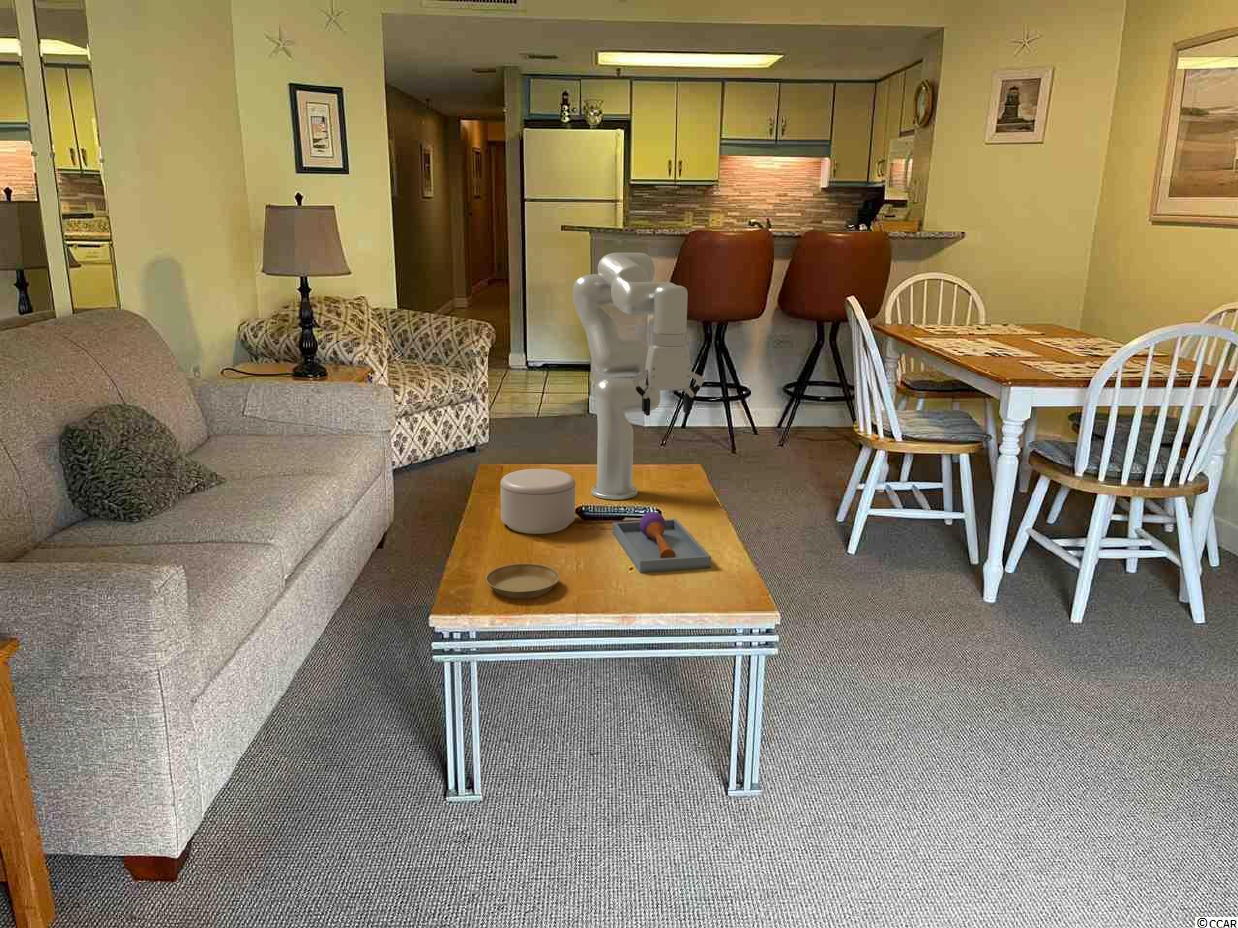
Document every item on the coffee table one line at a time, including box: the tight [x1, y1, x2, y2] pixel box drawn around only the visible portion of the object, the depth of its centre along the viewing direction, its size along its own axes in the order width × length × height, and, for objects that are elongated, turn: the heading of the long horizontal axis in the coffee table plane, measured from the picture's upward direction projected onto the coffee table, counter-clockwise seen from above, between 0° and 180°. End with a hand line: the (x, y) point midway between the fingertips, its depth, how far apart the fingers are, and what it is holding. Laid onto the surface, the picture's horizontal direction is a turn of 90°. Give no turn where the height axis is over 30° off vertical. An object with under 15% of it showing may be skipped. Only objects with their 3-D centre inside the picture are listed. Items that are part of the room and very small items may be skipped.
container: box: [499, 468, 576, 535], centre depth 223 cm, size 18×18×12 cm
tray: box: [611, 518, 712, 574], centre depth 208 cm, size 26×16×3 cm, turn 13°
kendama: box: [639, 511, 675, 558], centre depth 208 cm, size 6×6×20 cm
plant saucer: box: [485, 563, 561, 600], centre depth 186 cm, size 15×15×3 cm
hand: (666, 413), depth 216 cm, fingers open, 9 cm apart
